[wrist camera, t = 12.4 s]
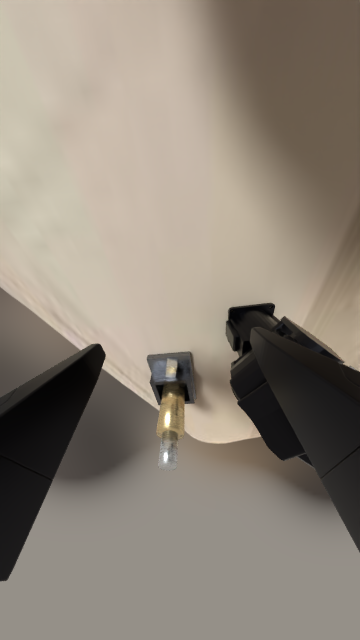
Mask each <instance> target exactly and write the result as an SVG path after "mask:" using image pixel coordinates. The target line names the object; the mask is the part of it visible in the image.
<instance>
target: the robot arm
mask: <svg viewBox="0 0 360 640" xmlns="http://www.w3.org/2000/svg"><path fill="white" fill-rule="evenodd" d="M270 306H271V307H270ZM269 307H270V308H269ZM274 309H275V305H274V304H273V303H265V304H257V305H248V306H239V307H231V308H229V310H228V321H227V322H226V336H227V339H228V342H229V343H230V345H231V348H232V350H233V351H237V352H238V354H239V358H238V359H237V360H236V361H234V362H232V363H231V371H230V372H231V380H230V384H231V387H232V390H233V393H234V395H235V397H236V398H237V400H238V402H237V403H238V405H239V406H240V407H241V408H242V409H243V410H244V411H245V413H246V414H247V415H248V416H249V418H250V419H251V420H252V422H253V423H254V425H255V426H256V428H257V429H258V431H259V433H260V435H261V436H262V438H263V440H264V441H265V443H266V445H267V446H268V448H269V449H270V450H271V451H272V452H273V453H274V454H276V455H277V457H278V458H280V459H281V460H283V461H286V460H289V459H291V458H294V457H298V458H299V459H300V460H302V461H303V462H305V463H307V464H308V465H309V466H311V467H312V468H314V469H315V470H316V472H317V474H318V476H319V477H320V478H321V482H322V483H323V485H324V487H325V489H326V491H327V493H328V495H329V496H330V498H331V500H332V502H333V504H334V506H335V507H336V509H337V511H338V513H339V515H340V517H341V519H342V520H343V522H344V524H345V526H346V528H347V530H348V532H349V533H350V535H351V537H352V539H353V541H354V543H355V544H356V546H357V548H358V550H359V552H360V372H359V371H357V370H354V369H352V368H350V367H348V366H346V365H343V363H345V362H344V361H343V360H342V359H341V358H340V357H339V356H338V355H337V354H336V353H335V352H334V351H333V350H332V349H331V348H329V347H328V346H327V345H325V344H324V343H323V342H321V341H320V340H319V339H317V338H316V337H315V336H313V335H312V334H310V333H309V332H307V331H306V330H304V329H303V328H301V327H300V326H298V325H297V324H295V323H294V322H292V321H291V320H289V319H288V318H286V317H285V316H284V317H283V318H282V319H281V321H280V320H278V319H277V318H276V317H275V316H274V315H273V313H274ZM232 310H233V312H231V311H232ZM105 356H106V354H105V352H104V350H103V348H102V346H101V345H100V344H91V345H90V346H88V347H86V348H85V349H83V350H81V351H79V352H78V353H76V354H74V355H73V356H71V357H69V358H67V359H66V360H64V361H62V362H60V363H59V364H58V365H55V366H54V367H52V368H50V369H49V370H47V371H45V372H43V373H42V374H40V375H38V376H36V377H35V378H33V379H31V380H30V381H28V382H26V383H25V384H23V385H21V386H19V387H18V388H16V389H14V390H12V391H11V392H9V393H7V394H6V395H4V396H2V397H0V581H6V580H8V578H9V576H10V574H11V572H12V570H13V568H14V566H15V564H16V561H17V559H18V557H19V555H20V552H21V550H22V548H23V546H24V544H25V541H26V539H27V537H28V535H29V532H30V530H31V528H32V526H33V524H34V521H35V519H36V517H37V515H38V512H39V510H40V508H41V506H42V503H43V501H44V499H45V497H46V495H47V492H48V490H49V488H50V486H51V483H52V481H53V479H54V476H55V474H56V472H57V469H58V467H59V465H60V463H61V461H62V458H63V456H64V454H65V452H66V450H67V447H68V445H69V443H70V441H71V438H72V436H73V434H74V432H75V430H76V427H77V425H78V423H79V420H80V418H81V416H82V414H83V412H84V409H85V407H86V405H87V403H88V401H89V398H90V396H91V394H92V392H93V389H94V387H95V385H96V383H97V380H98V377H99V375H100V372H101V369H102V366H103V363H104V360H105Z"/></svg>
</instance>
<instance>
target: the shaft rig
mask: <svg viewBox="0 0 360 640" xmlns="http://www.w3.org/2000/svg"><path fill="white" fill-rule="evenodd" d="M147 362H148V364H149V367H150V370H151V373H152V375H151V380H150V384H151V387H152V389H153V392H154V394H155V397H156V400H157V402H158V405H161V400H162V393H163V387H164V384H177V383H185V404H190V403H194V399H196V392H195V385H194V378H193V371H192V364H191V357H190V352H179V353H168V354H157V355H148V357H147Z"/></svg>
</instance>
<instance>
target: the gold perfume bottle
mask: <svg viewBox="0 0 360 640" xmlns="http://www.w3.org/2000/svg"><path fill="white" fill-rule="evenodd" d="M184 404H185V383H177V384H164V387H163V393H162V400H161V406H160V412H159V419H158V425H157V432H156V434H157V436H158V437H160V438H161V447H160V455H159V464H158V467H159V468H160V469H163V470H175V469H176V468H177V450H178V440H179V439H181V438H183V437H184Z"/></svg>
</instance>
